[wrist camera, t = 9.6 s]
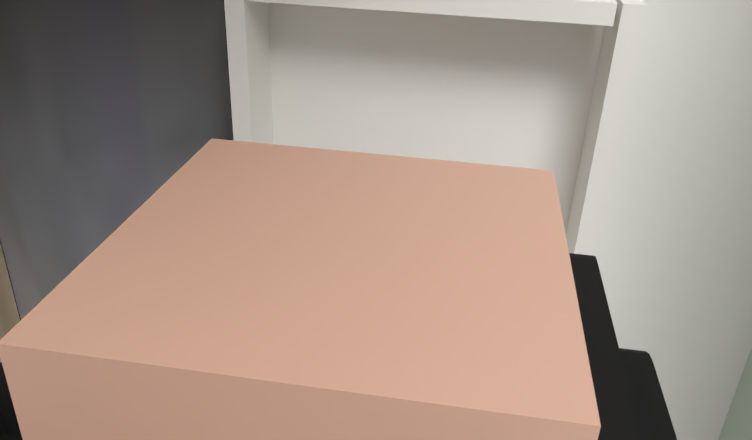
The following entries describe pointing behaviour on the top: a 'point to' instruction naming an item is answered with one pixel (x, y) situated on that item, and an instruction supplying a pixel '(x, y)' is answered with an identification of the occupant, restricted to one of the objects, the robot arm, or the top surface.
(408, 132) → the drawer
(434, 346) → the block
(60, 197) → the top surface
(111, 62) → the top surface
